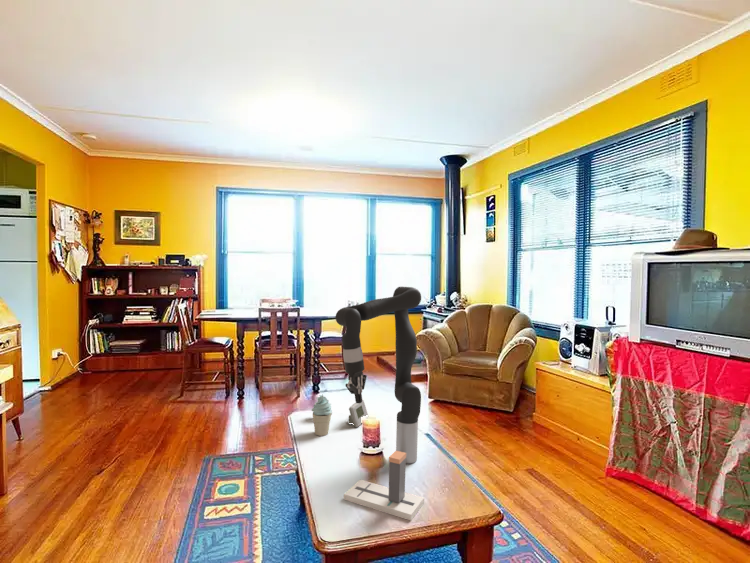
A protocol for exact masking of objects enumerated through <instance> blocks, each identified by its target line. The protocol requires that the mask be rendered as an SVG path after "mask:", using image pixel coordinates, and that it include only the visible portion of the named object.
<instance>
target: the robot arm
mask: <svg viewBox="0 0 750 563" xmlns="http://www.w3.org/2000/svg"><path fill="white" fill-rule="evenodd" d="M421 301H422V294H421V292H420V291H419V289H418V288H416V287H412V286H398V287H396V288H395V290H394V291H393V295H392V296H390V297H383V298H376V299H372V300H368V301H366V302H362V303H359V304H356V305H355V304H354V305H350V306H345V307H342V308H340V309H339V310H338V311H337V312H336V314H335V318H334V319H335V322H336V323H337V324H338V325H339V326H341V327H345V332H344V333H343V334H342V335H341V343H342V352H343V353H342V355H343V364H344V372H345V373H346V374H348V378H347V379H348V382H347V383H345V387H346V389H347V390H348V391H349V393H350V394H352V395H354V401H355V403H361V402H362V400H363V395H362V393H363V390H364V389H365V387H366V381H367V378H368V377H367V376H368V375H367V374H364V372H363V371H364V370H365V361H364V354H363V349H362V344H361V336H360V335H361V328H362V322H363V321H368V320H372V319H374V318H377V317H380V316H384V315H387V314H389V313H394V325H395V326H394V327H395V380H394V397H395V398H396V400H397V401H398V402H400V403H401V409H400V410H401V411H398V412H397V413H396V430H395V431H396V440H395V442H396V443H395V445H396V446H395V451H400V452H404V453H406V464H414V463H415V462H417V461H418V437H419V436H418V434H419V433H418V432H419V431H418V430H419V428H418V427H419V417H420V414H421V407H422V406H421V405H422V393H421V390H420V388H419V387H418V386H416V385H414V384H413V383H412V368H413V364H414V362H415V360H416V357H417V355H418V354H417V352H418V346H417V345H418V344H417V343H418V341H417V340H418V339H417V335H416V332H415V330H414V328H413V325H412V324H411V321H410V317H409V316H410V315H409V310H411V309H412V310H413V309H416V308H418V306H419V305H420V304H421Z"/></svg>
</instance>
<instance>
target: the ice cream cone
mask: <svg viewBox="0 0 750 563" xmlns="http://www.w3.org/2000/svg"><path fill="white" fill-rule="evenodd" d="M316 400H317V401H316V402H314V404H313V407H312V408H311V412H312V420H313V426H314V427H313V428H314V434H315V435H316V436H320V437H321V436H322V437H323V436H327V435H328V434H329V430H330V422H331V418H332V417H331V416H332V415H331V413H332V414H333V410H332V403H330V400H329V399H328V398H327V397H326V396H324V394H320V395H319V396H318V397H316Z"/></svg>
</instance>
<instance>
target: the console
mask: <svg viewBox="0 0 750 563" xmlns="http://www.w3.org/2000/svg"><path fill="white" fill-rule="evenodd" d="M343 500H345V501H347V502H350V503H354V504H357V505H361V506H363V507H366V508H369V509H374V510H376V511H380V512H382V513H386V514H388V515H391V516H396V517H398V518H402V519H405V520H409V521H412V520H413V519H414V517H415V516H416V514H417V513H418V512H419V511H420V509H421V508H422V506H423V505H424V503H425V497H423V496H420V495H416V494H412V493H409V492H406V491H405V497H404V498H403V499H402V500H401V502H400V503H396V502H392V501H389V486H388V487H387V486H384V485H380V484H377V483H374V482H371V481H370V482H369V481H367V480H363V479H359V480H358V481H357V482H356V483H355V484H353V485H352V486H351V487H350V488H349V489H348V490H347V491H346V492H345V493H343Z"/></svg>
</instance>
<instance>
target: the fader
mask: <svg viewBox="0 0 750 563" xmlns="http://www.w3.org/2000/svg"><path fill="white" fill-rule="evenodd" d="M388 462H389V465H388V466H389V467H388V488H389V501H392V502H396V503H400V502H401V500H402V499H403V498H404V497H405V492H406V453H404V452H400V451H396V450H395V451H394V452H392V453H391V455H389V457H388Z"/></svg>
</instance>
